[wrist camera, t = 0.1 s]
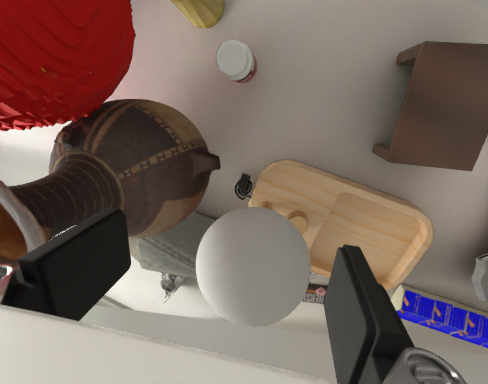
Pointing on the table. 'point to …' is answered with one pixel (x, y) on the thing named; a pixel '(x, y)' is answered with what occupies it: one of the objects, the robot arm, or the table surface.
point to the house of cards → (171, 283)
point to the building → (441, 314)
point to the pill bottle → (236, 61)
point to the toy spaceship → (481, 277)
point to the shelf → (442, 107)
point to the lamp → (302, 240)
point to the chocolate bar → (315, 294)
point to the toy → (60, 58)
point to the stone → (172, 247)
